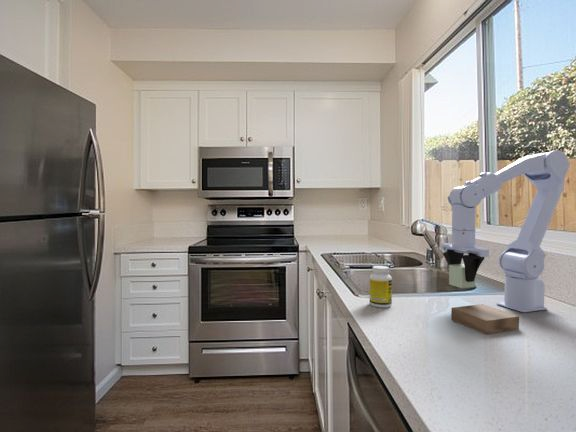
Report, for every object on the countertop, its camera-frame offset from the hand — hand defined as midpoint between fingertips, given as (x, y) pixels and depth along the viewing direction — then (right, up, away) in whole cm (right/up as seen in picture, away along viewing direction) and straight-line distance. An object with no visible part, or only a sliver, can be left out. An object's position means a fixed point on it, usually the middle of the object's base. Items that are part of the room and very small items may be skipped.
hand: (462, 279), depth 92 cm
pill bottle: (-21, -9, +4) cm, 23 cm away
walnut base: (-1, -9, -11) cm, 14 cm away
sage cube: (0, -2, 0) cm, 2 cm away
